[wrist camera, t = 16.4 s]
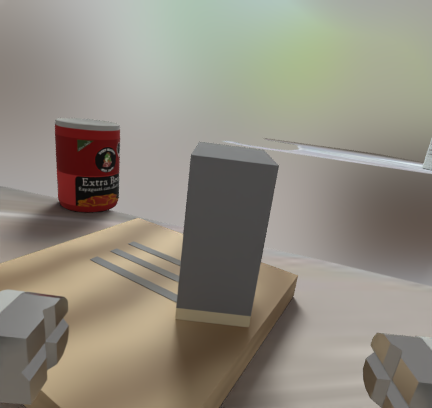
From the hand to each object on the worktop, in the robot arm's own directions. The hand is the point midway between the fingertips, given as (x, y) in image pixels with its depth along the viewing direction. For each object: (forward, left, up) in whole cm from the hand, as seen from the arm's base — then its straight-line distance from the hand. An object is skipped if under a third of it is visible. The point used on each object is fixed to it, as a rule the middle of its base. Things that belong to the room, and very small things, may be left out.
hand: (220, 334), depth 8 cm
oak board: (-11, +9, -9) cm, 16 cm away
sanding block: (-6, +10, -7) cm, 14 cm away
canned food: (-32, +21, -9) cm, 39 cm away
